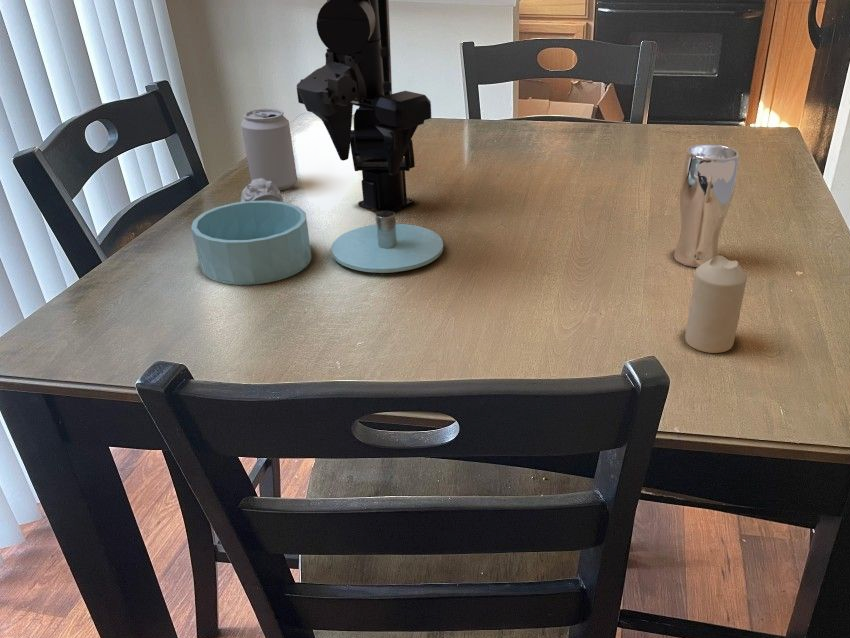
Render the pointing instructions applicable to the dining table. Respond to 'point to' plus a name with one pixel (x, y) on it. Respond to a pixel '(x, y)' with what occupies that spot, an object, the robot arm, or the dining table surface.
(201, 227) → the pot
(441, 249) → the lid
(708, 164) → the beer glass
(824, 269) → the dining table surface
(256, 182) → the grey carved lump
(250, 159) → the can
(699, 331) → the candle
